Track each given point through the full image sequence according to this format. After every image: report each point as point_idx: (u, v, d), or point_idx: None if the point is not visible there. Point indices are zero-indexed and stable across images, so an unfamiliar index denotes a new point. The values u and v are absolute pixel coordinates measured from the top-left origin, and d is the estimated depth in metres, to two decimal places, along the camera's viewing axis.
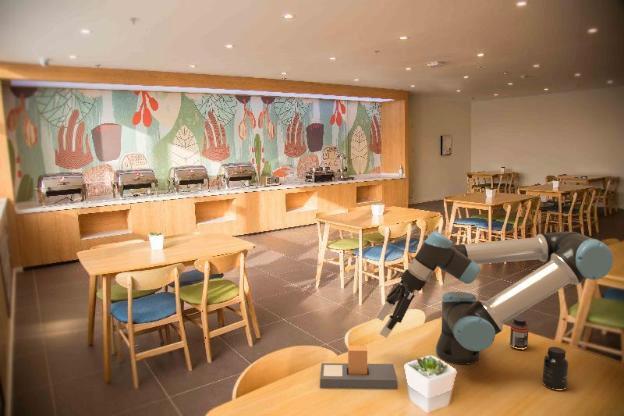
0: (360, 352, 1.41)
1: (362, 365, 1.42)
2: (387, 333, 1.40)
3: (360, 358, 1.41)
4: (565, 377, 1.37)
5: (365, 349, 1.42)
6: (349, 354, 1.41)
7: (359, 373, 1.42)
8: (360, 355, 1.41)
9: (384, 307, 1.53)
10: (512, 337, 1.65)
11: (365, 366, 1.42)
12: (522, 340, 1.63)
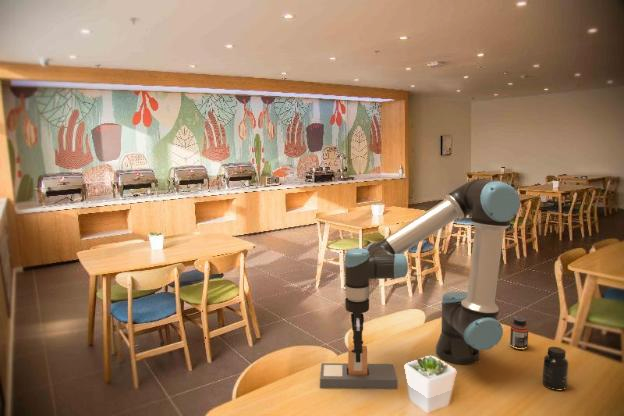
0: None
1: (362, 365, 1.42)
2: (360, 366, 1.41)
3: None
4: (565, 377, 1.37)
5: (365, 349, 1.42)
6: (349, 354, 1.41)
7: (359, 373, 1.42)
8: None
9: None
10: (512, 337, 1.65)
11: (365, 366, 1.42)
12: (522, 340, 1.63)
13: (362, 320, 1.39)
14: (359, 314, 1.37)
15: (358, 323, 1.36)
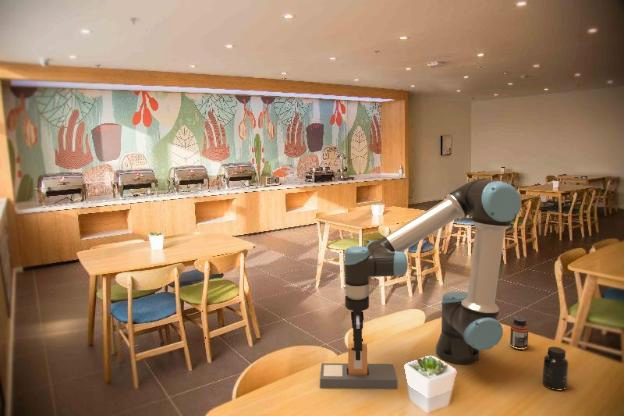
0: None
1: (362, 363, 1.42)
2: (360, 364, 1.41)
3: None
4: (565, 377, 1.37)
5: (365, 347, 1.42)
6: (349, 352, 1.41)
7: (359, 371, 1.42)
8: None
9: None
10: (512, 337, 1.65)
11: (365, 364, 1.42)
12: (522, 340, 1.63)
13: (362, 318, 1.39)
14: (359, 312, 1.37)
15: (358, 321, 1.36)
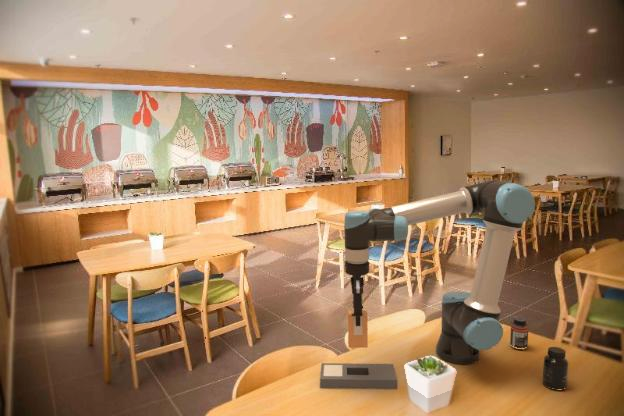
0: None
1: (363, 329, 1.40)
2: (360, 330, 1.39)
3: None
4: (565, 377, 1.37)
5: (365, 313, 1.40)
6: (349, 318, 1.39)
7: (359, 338, 1.40)
8: None
9: None
10: (512, 337, 1.65)
11: (365, 330, 1.40)
12: (522, 340, 1.63)
13: (362, 283, 1.37)
14: (359, 276, 1.35)
15: (358, 285, 1.34)
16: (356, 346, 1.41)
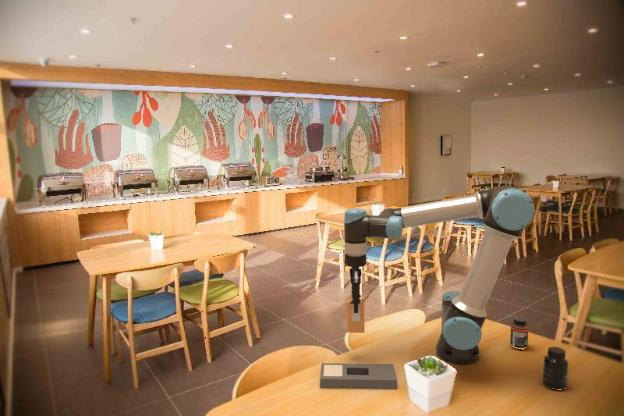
0: None
1: (360, 316, 1.54)
2: (358, 317, 1.53)
3: None
4: (565, 377, 1.37)
5: (362, 301, 1.54)
6: (348, 306, 1.53)
7: (357, 323, 1.54)
8: None
9: None
10: (512, 337, 1.65)
11: (362, 317, 1.54)
12: (522, 340, 1.63)
13: (360, 274, 1.51)
14: (357, 268, 1.49)
15: (356, 275, 1.48)
16: (354, 331, 1.55)
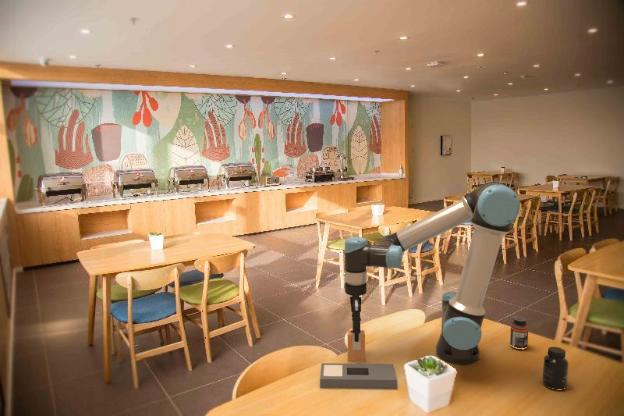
0: None
1: (361, 348, 1.56)
2: (358, 345, 1.53)
3: None
4: (565, 377, 1.37)
5: (363, 333, 1.56)
6: (348, 338, 1.55)
7: (357, 355, 1.56)
8: None
9: (353, 327, 1.60)
10: (512, 337, 1.65)
11: (363, 348, 1.56)
12: (522, 340, 1.63)
13: (360, 302, 1.53)
14: (357, 296, 1.51)
15: (356, 303, 1.49)
16: None
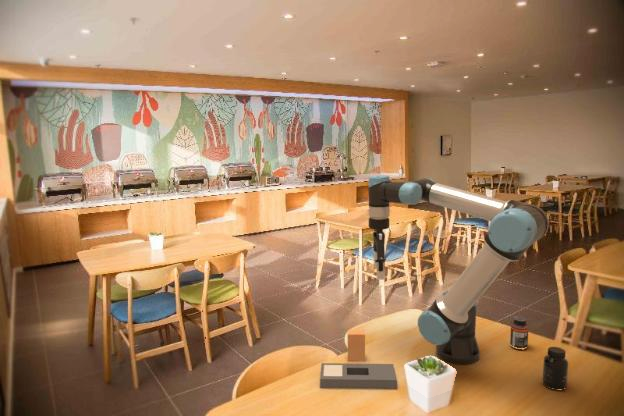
0: (358, 335, 1.55)
1: (361, 348, 1.56)
2: (382, 275, 1.58)
3: (359, 341, 1.55)
4: (565, 377, 1.37)
5: (363, 333, 1.56)
6: (348, 338, 1.55)
7: (357, 355, 1.56)
8: (358, 338, 1.55)
9: (375, 257, 1.71)
10: (512, 337, 1.65)
11: (363, 348, 1.56)
12: (522, 340, 1.63)
13: (383, 236, 1.61)
14: (381, 230, 1.59)
15: (380, 234, 1.57)
16: None
